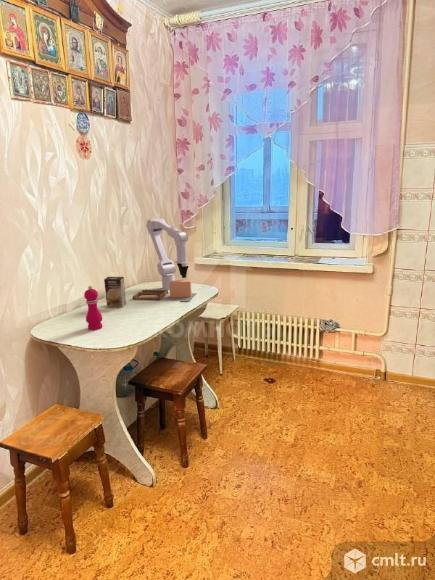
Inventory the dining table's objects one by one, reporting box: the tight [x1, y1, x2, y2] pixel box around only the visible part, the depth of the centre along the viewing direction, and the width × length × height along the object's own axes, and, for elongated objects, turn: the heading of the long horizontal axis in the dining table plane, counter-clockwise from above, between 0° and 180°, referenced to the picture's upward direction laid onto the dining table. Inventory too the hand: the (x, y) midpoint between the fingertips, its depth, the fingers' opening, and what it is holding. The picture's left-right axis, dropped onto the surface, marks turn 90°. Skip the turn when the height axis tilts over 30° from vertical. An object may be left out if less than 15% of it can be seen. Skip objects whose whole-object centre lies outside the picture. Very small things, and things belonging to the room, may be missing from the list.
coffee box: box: [103, 276, 127, 309], centre depth 212 cm, size 9×6×16 cm
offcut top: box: [138, 295, 158, 298], centre depth 226 cm, size 4×10×1 cm, turn 83°
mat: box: [165, 292, 198, 303], centre depth 226 cm, size 16×14×1 cm
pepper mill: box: [83, 285, 103, 331], centre depth 180 cm, size 7×7×20 cm
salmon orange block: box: [169, 279, 192, 298], centre depth 226 cm, size 4×12×9 cm, turn 87°
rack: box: [132, 289, 169, 301], centre depth 229 cm, size 14×16×2 cm
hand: (183, 276), depth 232 cm, fingers open, 7 cm apart
